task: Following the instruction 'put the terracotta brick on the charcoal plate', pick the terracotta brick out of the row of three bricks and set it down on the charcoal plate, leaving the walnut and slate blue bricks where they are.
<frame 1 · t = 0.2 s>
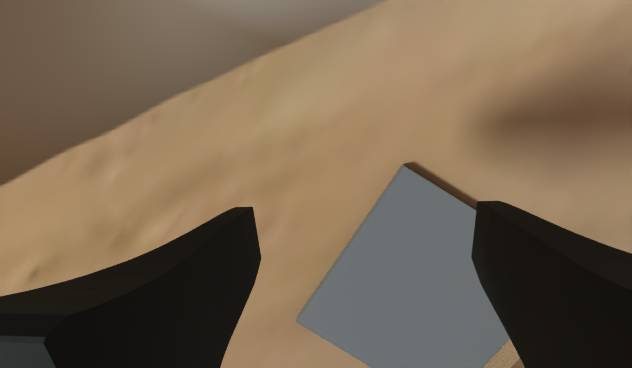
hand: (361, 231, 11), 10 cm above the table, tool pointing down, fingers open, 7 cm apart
charcoal plate: (422, 293, 22), on the table
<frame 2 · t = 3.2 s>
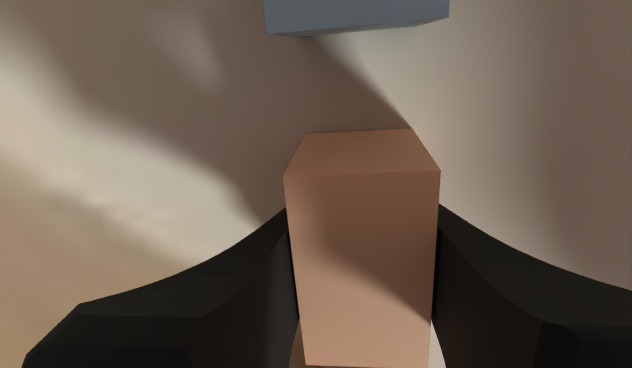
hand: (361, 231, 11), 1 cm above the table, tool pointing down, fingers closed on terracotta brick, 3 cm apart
terracotta brick: (360, 211, 12), on the table, touching gripper
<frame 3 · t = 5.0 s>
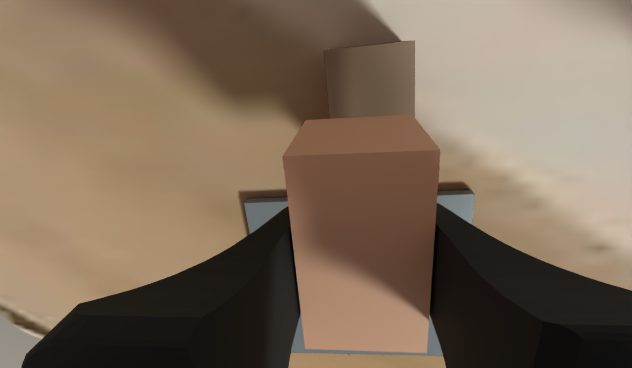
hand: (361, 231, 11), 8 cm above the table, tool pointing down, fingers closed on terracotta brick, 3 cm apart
charcoal plate: (358, 278, 22), on the table
terracotta brick: (360, 199, 12), point 7 cm above the table, touching gripper
walnut brick: (368, 106, 18), on the table
when the fingers open (4 cm above the table, at t = 6.8 s): terracotta brick drops 2 cm, resting on charcoal plate.
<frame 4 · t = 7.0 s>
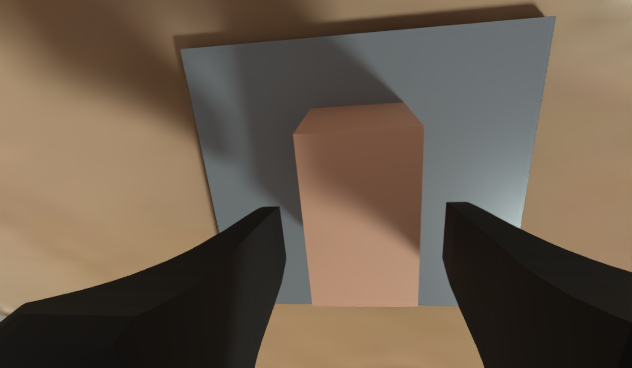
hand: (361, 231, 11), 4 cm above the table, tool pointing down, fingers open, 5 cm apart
charcoal plate: (359, 185, 15), on the table
terracotta brick: (359, 179, 14), point 1 cm above the table, touching charcoal plate
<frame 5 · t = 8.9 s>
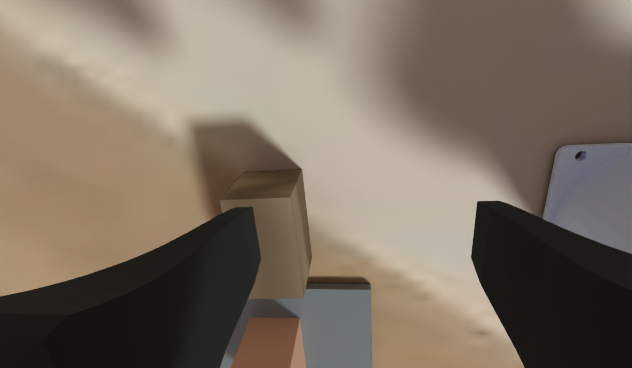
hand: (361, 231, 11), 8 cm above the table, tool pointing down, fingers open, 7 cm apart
charcoal plate: (282, 348, 25), on the table
terracotta brick: (280, 350, 24), point 1 cm above the table, touching charcoal plate
walnut brick: (279, 215, 21), on the table
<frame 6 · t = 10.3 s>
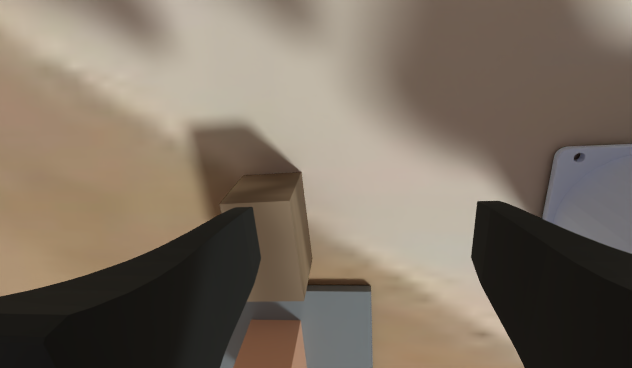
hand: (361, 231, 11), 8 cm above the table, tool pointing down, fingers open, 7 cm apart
charcoal plate: (283, 350, 25), on the table
terracotta brick: (281, 352, 24), point 1 cm above the table, touching charcoal plate
walnut brick: (279, 218, 21), on the table
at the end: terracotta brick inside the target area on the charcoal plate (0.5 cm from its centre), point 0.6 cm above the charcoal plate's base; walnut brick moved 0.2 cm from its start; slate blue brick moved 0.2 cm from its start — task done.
